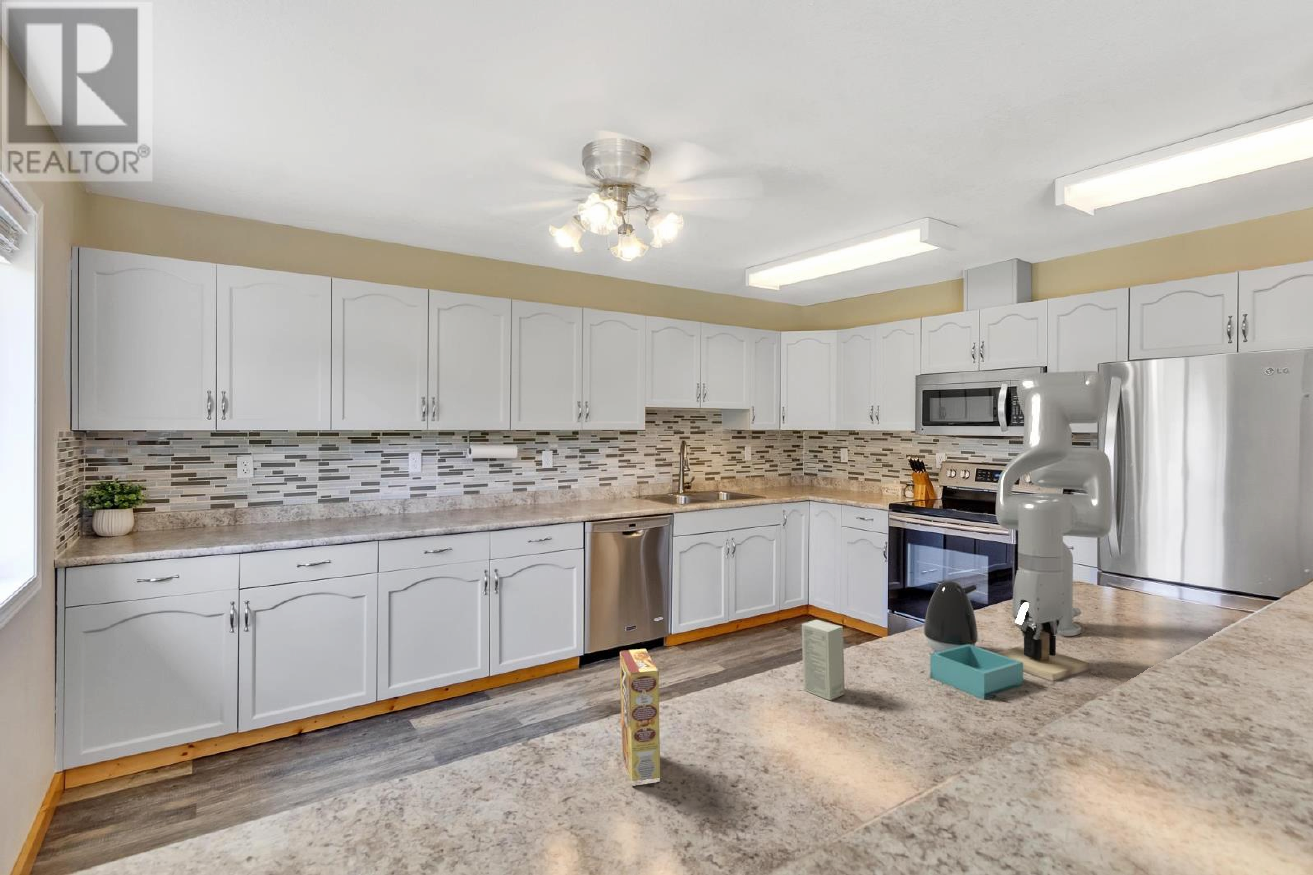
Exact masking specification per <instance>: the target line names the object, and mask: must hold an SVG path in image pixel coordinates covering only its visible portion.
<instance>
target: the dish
mask: <svg viewBox="0 0 1313 875" xmlns="http://www.w3.org/2000/svg"><path fill="white" fill-rule="evenodd" d="M929 655H930V656H929V657H930V658H929V660H930V662H929V663H930V664H929V665H930V668H929V671H930V672H929V673H930V678H931V679H934V680H936V681H938V682H941V683H944V684H945V685H948V686H951V687H953V688H955V689H958V690H960V691H962V692H965V693H967V694H969V695H973V696H975V697H976V698H980V699H982V700H987V699H990V698H993V697H995V696H996V694H999V693H1003V692H1005V691H1009V690H1012V689H1015V688H1018V687H1021V686H1024V672H1023V662H1020V661H1017V660H1014V659H1011V658H1008V657H1005V656H1003V655H1000V654H997V652H993V651H990V650H988V649H984V648H981V647H979V646H976V645H975V646H973V645H970V644H967V645H963V646H959V647H955V648H951V649H947V650H943V651H939V652H935V651H934V652H932V653H929Z"/></svg>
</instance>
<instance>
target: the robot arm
mask: <svg viewBox="0 0 1313 875" xmlns="http://www.w3.org/2000/svg"><path fill="white" fill-rule="evenodd" d="M1106 386H1107V385H1106V381H1105V379H1104V376H1103V374H1102V373H1100V372H1098V371H1094V370H1092V371H1091V370H1085V371H1084V370H1083V371H1082V370H1079V371H1077V370H1076V371H1058V372H1057V371H1056V372H1055V371H1053V372H1051V371H1050V372H1038V373H1033V374H1027V375H1025V376H1022V377H1021V378H1019V380H1018V382H1017V385H1016V394H1017V399H1018V400H1017V401H1018V404H1019V406H1020V410H1021V412H1022V414H1023V416H1024V418H1023V419H1024V421H1023V437H1022V439H1023V440H1022V450H1021V451H1020V452H1019V453H1018V454H1017V455H1015V456H1014V457H1013V458H1012V459H1011V460H1010V461H1009V462H1008V463H1007V464H1006V465H1005V467H1004V468H1003V470H1002V471H1001V473H1000V476H999V477H998V481H997V486H996V499H995V500H996V501H995V519H996V520H997V524H998V525H999V526H1000V527H1002V528H1003V529H1006V530H1011V531H1012V530H1013V531H1017V545H1018V546H1017V552H1018V553H1017V570H1016V574H1015V578H1014V585H1013V595H1012V610H1011V611H1012V612H1011V613H1012V617H1013V619H1015V626H1016V627H1017V628H1018V629H1019V630H1020V631H1021V635H1022V636H1023V645H1024V655H1025V656H1027V657H1030V658H1033V659H1036V660H1041V659H1042V640H1041V639H1039V637H1040V631H1044V632H1047V633H1049V655H1051V656H1055V655H1056V653H1057V650H1056V649H1057V645H1056V644H1057V643H1056V642H1057V636H1060V637H1073V636H1077V635H1080V634H1081V632H1082V628H1081V626H1080V625H1079V624H1077V623H1076V622H1074V618H1075V617H1079V616H1080V615H1081V614H1082V612H1081V609H1080V608H1078V607H1074V605H1073V604H1074V598H1073V597H1074V558H1073V557H1074V556H1073V554H1072V551H1071V549H1070V548H1069V547H1068V545H1066V543H1065V542H1064V537H1066V536H1068V537H1078V538H1093V539H1095V538H1097V539H1099V538H1101V539H1102V538H1105V537H1106V536H1107V535H1109V533H1110V531H1111V528H1112V520H1113V519H1112V518H1113V511H1112V509H1113V508H1112V504H1113V503H1112V469H1111V468H1112V466H1111V461H1110V458H1109V456H1108V455H1107V453H1106V452H1104V451H1102V450H1100V449H1096V448H1076V447H1075V448H1074V447H1073V446H1072V440H1073V439H1072V437H1073V436H1072V434H1073V433H1072V432H1073V431H1072V427H1071V425H1072V424H1073V425H1074V424H1097V423H1098V422H1100V421H1102V418H1104V414H1105V411H1106V398H1107V397H1106V393H1107V391H1106V390H1107V388H1106ZM1027 474H1029V478H1030V481H1031V483H1032V484H1033V485H1035V486H1037V487H1039V488H1040V487H1041V488H1046V489H1057V490H1058V489H1061V490H1063V489H1064V490H1079V491H1082V490H1083V491H1084V492H1085V493H1087V494H1067V493H1056V492H1055V493H1054V492H1053V493H1052V492H1050V493H1049V492H1039V493H1033V494H1032V493H1031V494H1013V493H1012V492H1013V488H1014V485H1015V483H1016V482H1017V481H1018V480H1019V479H1020V478H1022V477H1023V476H1024V475H1027Z"/></svg>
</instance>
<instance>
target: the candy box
mask: <svg viewBox="0 0 1313 875" xmlns="http://www.w3.org/2000/svg"><path fill="white" fill-rule="evenodd" d="M619 680H620V682H619V684H620V686H619V687H620V725H621V755H622V754H623V756H622V758H623V757H624V759H623V761H624V760H625V763H624V765H625V764H626V766H625V768H626V767H627V769H626V771H627V770H628V772H627V774H628V773H629V775H630V778H631V780H632V781H637V780H646V779H655V778H660V779H661V755H660V754H661V747H660V743H661V742H660V737H661V736H660V693H659V692H660V691H659V690H660V686H659V685H660V684H659V669H658V667H657V666H656V664H655V662H654V661H653V658H651V655H650V654H649V652H648V651H647V649H646V648H640V649H637V648H636V649H628V650H621V651H619Z"/></svg>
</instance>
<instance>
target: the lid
mask: <svg viewBox="0 0 1313 875" xmlns="http://www.w3.org/2000/svg"><path fill="white" fill-rule="evenodd" d="M1039 639H1041V640H1042V659H1041V660H1036V659H1033V658H1030V657H1027V656H1025V655H1024V644H1023V645H1020V646H1015V647H1012V648H1008V649H1004V650H1001V651H997V652H996V653H997V654H1000V655H1003V656H1005V657H1008V658H1011V659H1014V660H1017V661H1020V662H1023V671H1026V672H1029V673H1031V674H1034V675H1037V676H1040V677H1043V678H1046V679H1049V680H1052V681H1054V680H1057V679H1060V678H1063V677H1066V676H1069V675H1072V674H1076V673H1079V672H1082V671H1085V670H1088V669H1090V668H1091V665H1090V664H1091V663H1090V662H1088V661H1085V660H1082V659H1078V658H1075V657H1073V656H1068V655H1066V654H1062V653H1060V652H1059V653H1058V652H1056V655H1055V656H1051V655H1049V633H1047V632H1044V631H1040V637H1039ZM1031 674H1030V675H1031Z"/></svg>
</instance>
